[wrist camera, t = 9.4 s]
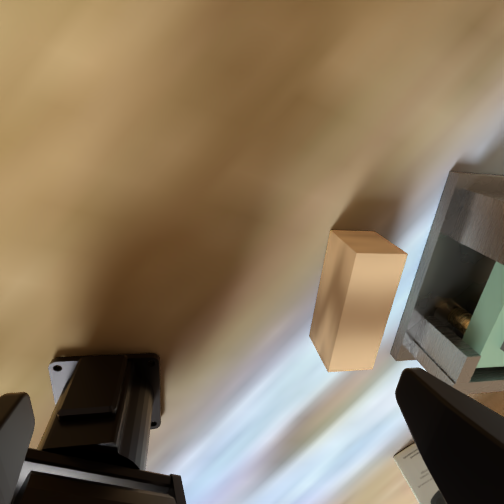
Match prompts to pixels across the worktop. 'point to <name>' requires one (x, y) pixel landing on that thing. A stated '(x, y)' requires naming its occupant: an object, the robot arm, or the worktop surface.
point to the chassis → (455, 283)
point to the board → (489, 322)
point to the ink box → (418, 476)
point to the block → (355, 298)
